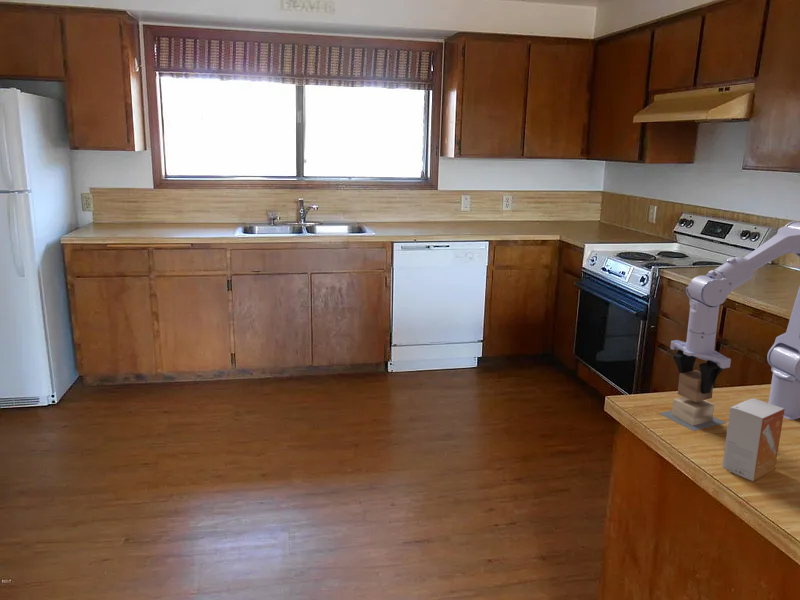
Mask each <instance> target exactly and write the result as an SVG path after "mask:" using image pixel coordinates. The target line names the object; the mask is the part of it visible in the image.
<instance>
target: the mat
mask: <svg viewBox="0 0 800 600" xmlns="http://www.w3.org/2000/svg"><path fill="white" fill-rule="evenodd" d="M658 415H661V416H663V417H665V418H667V419H668V420H670V421H673V422H674V423H676V424H679V425H680V426H683V427H684V428H687V429H689V430H691V431H692V432H696V431H699V430H702V429H707V428H711V427H715V426H720V425H722V424H726V423H727V422H726V421H725V420H722V419H720V418H717V417H715V416H713V421H709V422H705V423H701V424H697V425H691V424H689V423H687V422H685V421H683V420H681V419H679V418H677V417H675V416H673V415H672V409H671V410H668V411H663V412H659V413H658Z"/></svg>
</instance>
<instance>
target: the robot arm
mask: <svg viewBox="0 0 800 600" xmlns="http://www.w3.org/2000/svg"><path fill="white" fill-rule="evenodd" d="M786 254H795V255H796V256H797V257H798V258H799V259H800V221H798V220H792V221H790V222H788V223H787V224H785V225H784V226H782V227H780V228H778V229H777V231H776V234H775V235H773V236H772V237H771V238H769V239H768V240H767V241H765V242H763V244H761V245H759V246H758V247H757V248H755V249H754V250H752V251H751V252H750V253H749V254H747V255H745V256H744V257H741V256H733V257H729V258H726V262H724V263H723V264H721V265H720V266H718V267H716V268H715V269H713V270H712V269H711V270H709V271H708V272H707V274H706V275H702V274H701V275H698V276H695V277H694V278H692V279H691V280H690V281H689V284H688V286H686V288H685V292H686V296H687V297H688V299H689V303H688V305H689V315H688V324H687V332H686V341H682V340H679V339H675V340H671V341H670V346H669V347H670V348H669V349H670V350H672V351H673V350H674V351H675V350H676V353H674V354H672V358H673V360H674V362H675V365H676V366H677V369H678V374H679V375H680V373H684V372H689V371H693V370H694V365H695V364H696V360H697V359H700V360H702V361H705V362H703V363H699V364H698V367H699V370H700V372H701V393H703V394H706V393H710V391H711V389H712V386H713V387H714V385H715V382H716V380H717V378H718V377H719V375H720V374H721V373H722V371H723V370H724V369H729V368H731V362H732V359H731V358H729V357H727V356H725V355H723V354H721V353H720V352H718V351H717V350H715V347H716V346H715V345H716V337H717V329H718V321H719V312H720V305H722V304H723V303H725V301H726V300H727V298H728V296H729V295H730V294H731V292H732V291H734V290H735V289H737V288H738V287H740V286H742V285H744V284H745V283H747V282H748V281H749V280H750V281H751V279H752V278H753V277H754V272H755V271H756V270H757V269H760V268H761V267H763V266H765V265H766V264H769V263H771V262H773V261H775V260H777V259H778V258H780V257H782V256H784V255H786ZM787 324H788V325H787V328H786V331H785V332H784V333H782V334H780V335H778V336H776V337H775V340H774V343H773V344H772V346H771V347H770V349H769V350H768V352H767V357H766V360H767V363H768V365H770V367H771V369H770V371H771V372H772V376H771V377H772V378H771V382H770V390H769V397H768V403H770V404H773V405H775V406H779V407H781V408H784V409H785V410H784V416H783V419H786V420H788V421H789V420H790V421H793V420H798V419H800V285H799V287H798V290H797V294H796V297H795V300H794V304H793V307H792V310H791V313H790V318H789V321H788V323H787Z"/></svg>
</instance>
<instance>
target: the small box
mask: <svg viewBox="0 0 800 600" xmlns="http://www.w3.org/2000/svg"><path fill="white" fill-rule="evenodd" d="M784 410H785V409H784V408H781V407H779V406H775V405H773V404H770V403H769V402H766V401H764V400H760V399H758V398H755V397H752V398H749V399H747V400H745V401H741V402H739V403H737V404H735V405H733V406H730V409H729V414H728V424H727V429H726V438H725V446H724V447H725V448H724V451H723V452H724V453H723V459H722V465H721V466H722V468H723V469H726V470H727V472H730V473H733V474H735V475H737V476H740V477H741V478H744V479H746V480H748V481H752V482H755V481H756V480H758V479H760V478H762V477H763V476H765V475H767V474H769V473H771V472H773V471H775V470H776V464H777V460H778V459H777V457H778V452H779V447H780V440H781V434H782V427H783V423H784V422H783V421H784V417H783V416H784Z"/></svg>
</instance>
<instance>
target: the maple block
mask: <svg viewBox="0 0 800 600" xmlns="http://www.w3.org/2000/svg"><path fill="white" fill-rule="evenodd" d="M672 400H673V401H672V409H671V410H672V415H673V416H675V417H677V418H679V419H681V420H683V421H685V422H687V423H689V424H691V425H697V424H701V423H705V422H709V421H713V417H714V413H715V405H716V404H715V403H713V402H710V401H708V400H707V399H706V400H702V401H698V402H694V401H692V400H690V399H687V398H685V397H683V396H680V397H676V398H673V399H672Z"/></svg>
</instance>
